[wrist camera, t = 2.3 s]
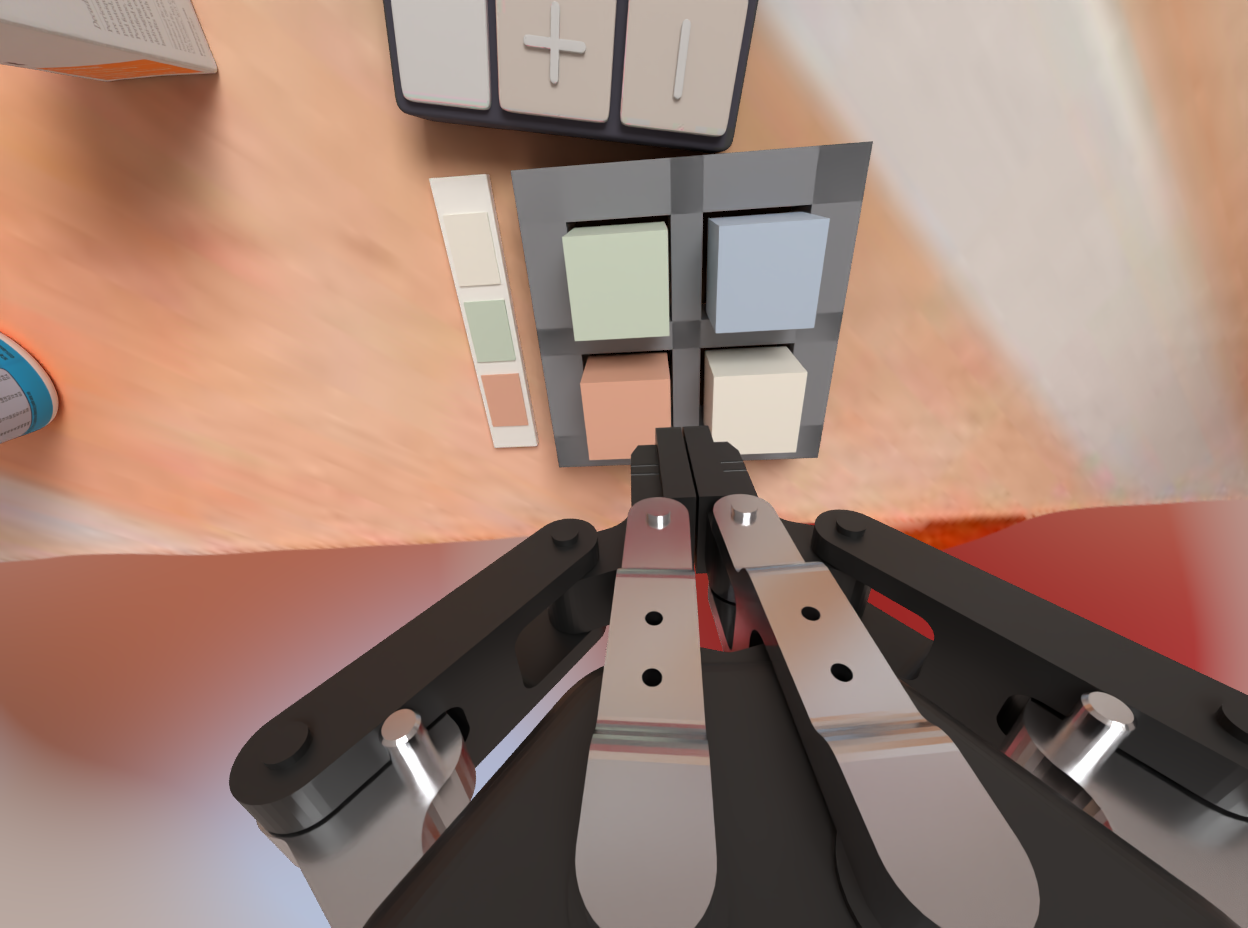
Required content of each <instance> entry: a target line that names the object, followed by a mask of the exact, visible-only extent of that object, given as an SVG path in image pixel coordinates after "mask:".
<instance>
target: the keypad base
mask: <svg viewBox="0 0 1248 928" xmlns="http://www.w3.org/2000/svg"><path fill="white" fill-rule="evenodd" d="M872 143H873V141H872V142H860V143H847V144H835V145H822V146H810V147H797V148H785V149H773V150H760V151H748V152H735V153H723V154H710V155H698V156H686V157H673V158H661V159H648V160H636V161H623V162H611V163H599V164H586V165H574V166H561V167H549V168H537V169H524V170H512V171H511V176H512V182H513V189H514V195H515V201H516V207H517V213H518V219H519V225H520V231H521V237H522V243H523V249H524V255H525V262H526V268H527V274H528V280H529V286H530V292H531V298H532V304H533V310H534V316H535V322H536V328H537V335H538V341H539V347H540V353H541V359H542V365H543V371H544V377H545V383H546V389H547V395H548V401H549V408H550V414H551V420H552V426H553V432H554V438H555V444H556V450H557V456H558V462H559V467H582V466H608V465H631V459H607V460H589V452H588V444H587V436H586V428H585V420H584V412H583V403H582V395H581V387H580V382H581V379H582V375H583V372H584V369H585V366H586V362H587V359H588V356H590V354H599V353H618V352H637V351H655V350H670V386H671V427H681V430H682V427H684V426H704V423H703V406H704V405H699V396H700V348H711V347H730V346H749V345H768V344H777V346H786V347H787V348H788V349H789V350H790V351H791V353H792V354H793V355H794V356H795V358H796V359H797V360H798V361H799V362H800V364H801V365H802V366H803V367H804V368H805V370H806V371H807V372H808V373H807V380H806V387H805V394H804V401H803V407H802V414H801V421H800V428H799V435H798V442H797V449H796V452H789V453H763V454H740V455H741V457H742V460H768V459H795V458H818V453H819V447H820V441H821V435H822V430H823V424H824V418H825V412H826V407H827V401H828V395H829V390H830V384H831V378H832V372H833V367H834V361H835V355H836V349H837V344H838V338H839V332H840V326H841V321H842V315H843V309H844V304H845V298H846V292H847V286H848V281H849V275H850V269H851V263H852V258H853V252H854V246H855V241H856V235H857V229H858V223H859V218H860V212H861V206H862V200H863V195H864V189H865V183H866V178H867V172H868V166H869V160H870V155H871V149H872ZM784 206H791V212H806V213H810V214H814V215H818V216H822V217H826V218H830V222H829V229H828V235H827V242H826V249H825V256H824V263H823V270H822V277H821V284H820V291H819V297H818V304H817V311H816V318H815V325H814V328H805V329H787V330H769V331H751V332H733V333H715V331H714V329H713V327H712V324H711V322H710V320H709V318H708V315H707V313H706V304H701V291H702V238H703V212H715V211H729V210H742V209H756V208H770V207H784ZM660 215H668V260H669V336H660V337H642V338H624V339H606V340H588V341H575V339H574V330H573V322H572V314H571V306H570V298H569V290H568V282H567V274H566V266H565V258H564V249H563V241H562V237H563V236H564V235H566V234H567V233H568V232H569V231H571V230H572V229H573V228H576V222H577V221H591V220H604V219H618V218H632V217H646V216H660Z"/></svg>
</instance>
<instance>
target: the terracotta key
mask: <svg viewBox="0 0 1248 928" xmlns="http://www.w3.org/2000/svg"><path fill="white" fill-rule="evenodd" d="M580 387H581V395H582V403H583V412H584V420H585V428H586V436H587V444H588V452H589V460H607V459H631V454H632V452H633V451H634V450H635V449H636V447H637V446H638V445H655V428H662V427H671V400H670V374H669V366H668V358H667V352H662V353H644V354H625V355H606V356H588V359H587V362H586V366H585V369H584V372H583V375H582V379H581V382H580Z"/></svg>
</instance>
